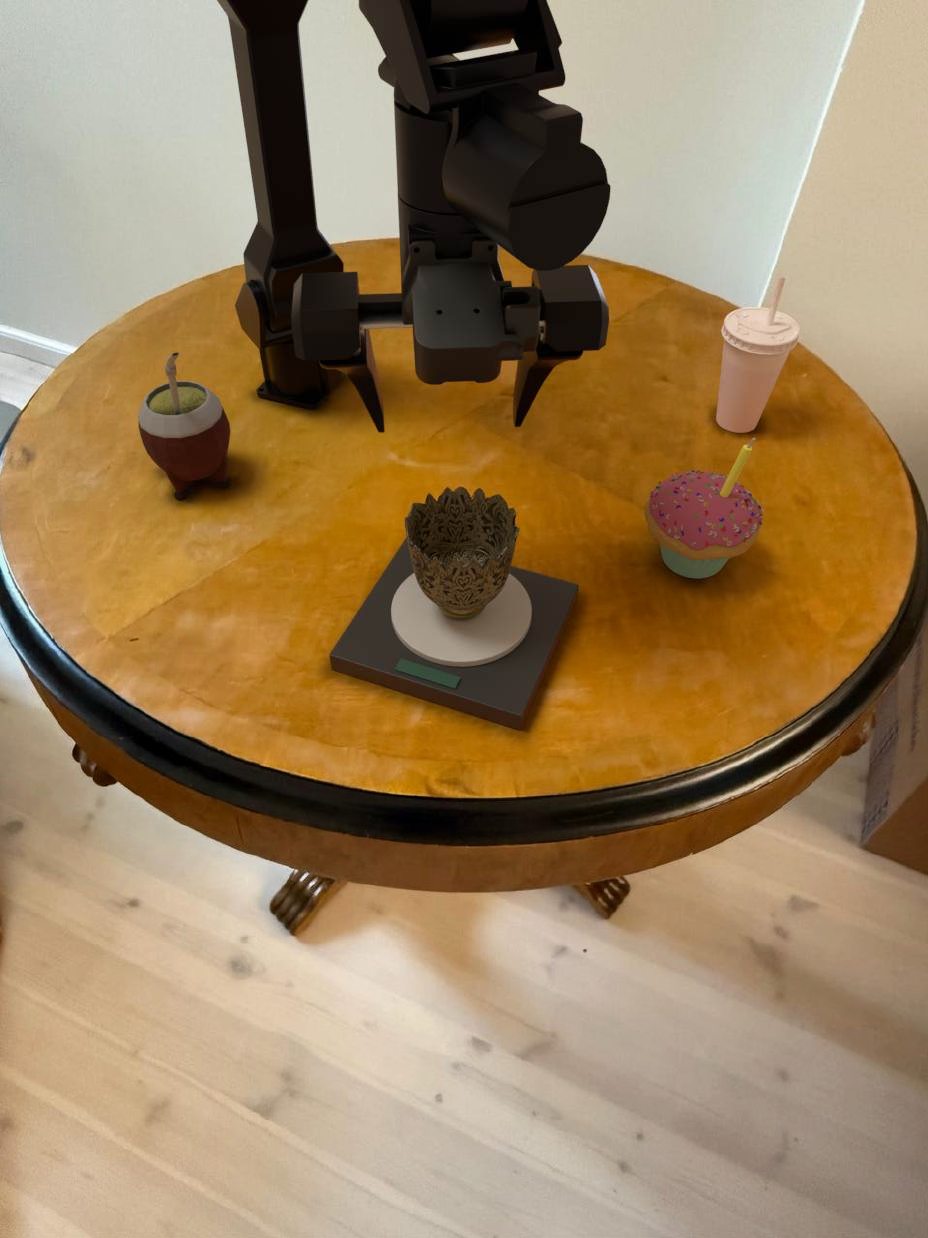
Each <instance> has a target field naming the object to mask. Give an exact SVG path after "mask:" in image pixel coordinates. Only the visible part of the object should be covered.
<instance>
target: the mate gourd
mask: <svg viewBox="0 0 928 1238" xmlns="http://www.w3.org/2000/svg"><path fill="white" fill-rule="evenodd" d="M179 355H180V352H178V351H175V352H173V353H171V354H170V355H168V356H167V359H166V362H165V364H164V369H165V376H166V377H168V379H167V380H168V382H166V383H163V384H161V385H158V386H157V387H155V388H153V389H152V390H151V391H149V392H148V393H147V394H146V395H145V396H144V398H143V400H142V403H141V406H140V408H139V410H138V414H137V419H138V430H139V431H138V432H139V435H140V439H141V442H142V444H143V447H144V448H145V451H146V453H147V454H148V456H149V458H150V459H151V461H153V462H154V464H155V465H157V467H158V468H159V469H161V470H162V471H163V472H165V474H166V477H167V478H168V480H169V481H170V483H171V485H172V486H173V487H174V488H173V489H175V492H174V493H173V497H174V498H175V500H177V501H184V500H185V498H187V497H188V495H189V494H191V492H192V491H194V490H195V488H196V487H197V486H198V485H199V484H206V485H210V486H214V487H217V488H220V489H221V488H222V489H226V490H227V489H229V488H230V487H231V486H232V480H231V479H229V478H228V477H227V472H228V452H229V447H230V442H231V441H230V439H231V425H230V424H231V423H230V421H229V418H228V416H227V413H226V411H225V409H224V407H223V404H222V402H221V400H220V398H219V396H218V395H216V394H215V393H214V392H213V391H211V390H210V389H209V388H207V387H206V386H204V385H203V384H202V383H199V382H195V381H190V380H177V377H176V376H177V373H178V372H177V364H176V363H175V362H176V360H177V358H178V357H179Z"/></svg>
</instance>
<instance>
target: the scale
mask: <svg viewBox="0 0 928 1238" xmlns="http://www.w3.org/2000/svg"><path fill="white" fill-rule="evenodd" d="M579 590H580V584H579V583H575V582H571V581H568V580H566V579H565V580H564V579H560V578H558V577H554V576H550V575H546V574H543V573H539V572H535V571H532V570H528V569H525V568H521V567H518V566H514V565H511V568H510V572H509V575H508V578H507V581H506V583H505V585H504V587H503V589H502V590H501V592H500V593H499V594H498V596H497V597H496V598H495V599H494V600H492V601H491V602H490V603H488V604H487V605H486V607H485V609H484V610H483V611H482V613H481V614H480V615H478V616H477V617H475V618H473V619H470V620H465V621H458V620H453V619H450V618H448V617H446V616H445V615H444V614H443V613H442V612H441V611H440V610H439V608H438V606H437V604H435V603H434V602H432V601H431V600H430V599H429V598H428V597H427V596H426V595H425V594H424V593H423V591H422V590H421V588H420V586H419V584H418V582H417V580H416V576H415V573H414V570H413V566H412V562H411V557H410V552H409V547H408V542H407V538H405V539H404V541H403V542H402V544H400V546H399V548H398V550H397V551H396V552H395V554H394V555H393V557H392V558H391V560H390V562H389V563H388V564H387V566H386V568H385V569H384V571H383V573H381V575H380V577H379V579H378V580H377V581H376V582H375V584H374V586H373V587H372V589H371V590H370V592H369V594H368V595H367V596H366V598H365V600H364V601H363V602H362V604H361V606H360V607H359V609H358V610H357V612H356V613H355V615H354V616H353V618H352V619H351V621H350V623H348V625H347V627H346V629H344V631H343V633H342V635H341V636H340V637H339V639H338V640H337V643H336V644H335V645H334V647H333V648H332V650H331V651H330V653H329V655H328V656H329V662H330V667H331V670H333V671H336V672H339V673H342V674H344V675H348V676H352V677H353V678H357V679H361V680H364V681H366V682H370V683H372V684H376V685H379V686H382V687H384V688H388V689H392V690H395V691H397V692H401V693H404V694H407V695H410V696H413V697H416V698H418V699H419V698H420V699H423V700H426V701H428V702H432V703H435V704H437V705H440V706H444V707H448V708H450V709H453V710H457V711H458V712H459V711H460V712H463V713H466V714H469V715H472V716H475V717H478V718H481V719H484V720H487V721H491V722H494V723H497V724H499V725H503V726H506V727H509V728H512V729H515V730H518V731H520V730H522V727H523V726H524V723H525V721H526V719H527V716H528V714H529V712H530V709H531V707H532V704H533V702H534V700H535V697H536V695H537V693H538V691H539V689H540V686H541V684H542V682H543V679H544V677H545V674H546V672H547V670H548V668H549V665H550V663H551V660H552V659H553V656H554V654H555V652H556V649H557V647H558V645H559V642H560V640H561V638H562V635H563V633H564V631H565V629H566V626H567V624H568V622H569V619H570V617H571V615H572V612H573V611H574V608H575V605H576V603H577V601H578V596H579Z"/></svg>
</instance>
